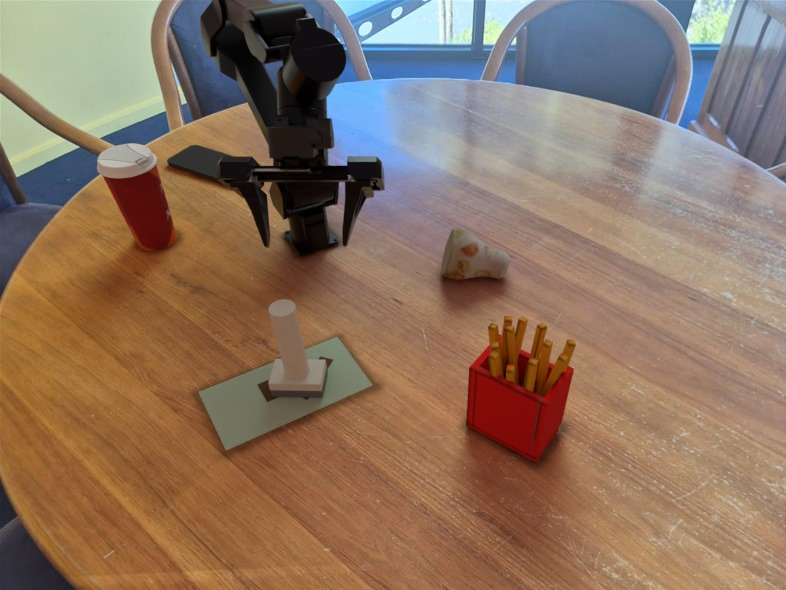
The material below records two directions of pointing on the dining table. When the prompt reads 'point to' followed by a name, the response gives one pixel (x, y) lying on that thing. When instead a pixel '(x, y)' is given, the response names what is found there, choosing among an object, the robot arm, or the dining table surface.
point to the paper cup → (138, 194)
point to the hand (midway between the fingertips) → (306, 246)
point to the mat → (262, 411)
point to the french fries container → (519, 389)
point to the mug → (471, 258)
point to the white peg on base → (293, 357)
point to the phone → (197, 161)
